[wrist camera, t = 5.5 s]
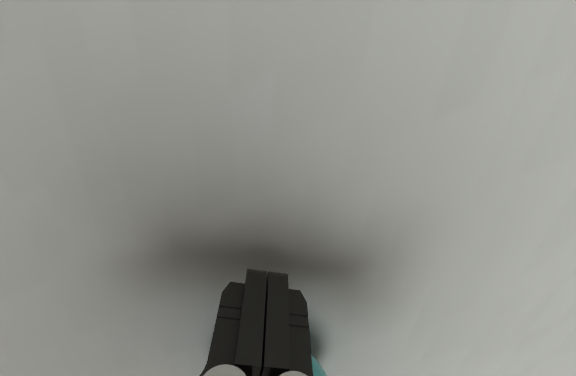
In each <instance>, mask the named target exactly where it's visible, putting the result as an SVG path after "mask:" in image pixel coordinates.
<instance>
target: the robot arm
mask: <svg viewBox="0 0 576 376" xmlns="http://www.w3.org/2000/svg"><path fill="white" fill-rule="evenodd" d="M200 376H314V375H313V369H312V357H311V346H310V334H309V323H308V311H307V302H306V300H305V298H304V297H303V295H302V293H301V291H300V290H292V289H288V274H283V273H276V272H268V273H267V271H259V270H252V269H247V273H246V279H245V284H243V283H235V282H230V283H229V284H228V286H227V287H226V288H225V290H224V291H223V292H222V296H221V300H220V305H219V310H218V314H217V319H216V324H215V328H214V333H213V338H212V342H211V347H210V352H209V356H208V361H207V364H206V366H205V369H204V370H203V372H202V373H201V374H200Z"/></svg>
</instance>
